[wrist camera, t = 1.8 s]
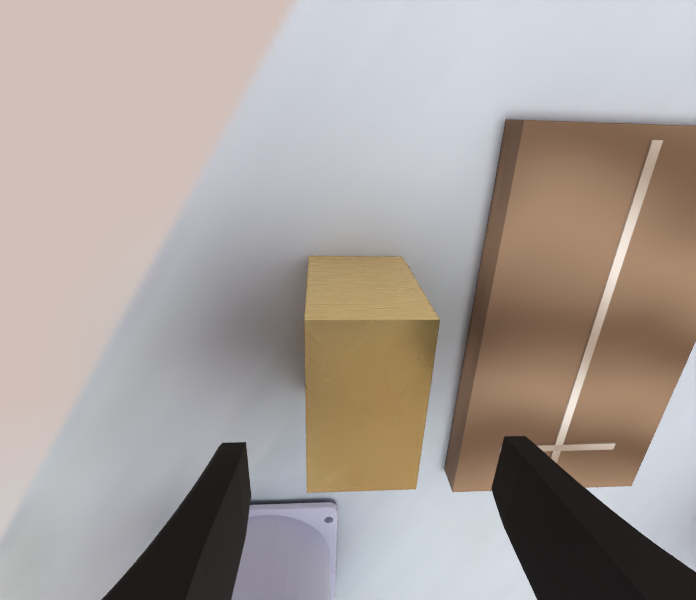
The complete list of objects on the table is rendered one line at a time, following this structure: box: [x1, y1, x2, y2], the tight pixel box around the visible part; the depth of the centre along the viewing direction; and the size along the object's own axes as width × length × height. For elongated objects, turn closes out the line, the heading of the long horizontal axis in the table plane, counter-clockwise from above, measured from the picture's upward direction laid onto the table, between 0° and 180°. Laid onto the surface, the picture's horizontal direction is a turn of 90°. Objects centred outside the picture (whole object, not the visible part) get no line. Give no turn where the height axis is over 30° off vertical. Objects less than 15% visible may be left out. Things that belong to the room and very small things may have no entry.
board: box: [445, 120, 696, 492], centre depth 19 cm, size 18×10×2 cm, turn 178°
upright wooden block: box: [304, 256, 440, 493], centre depth 16 cm, size 7×4×6 cm, turn 178°
